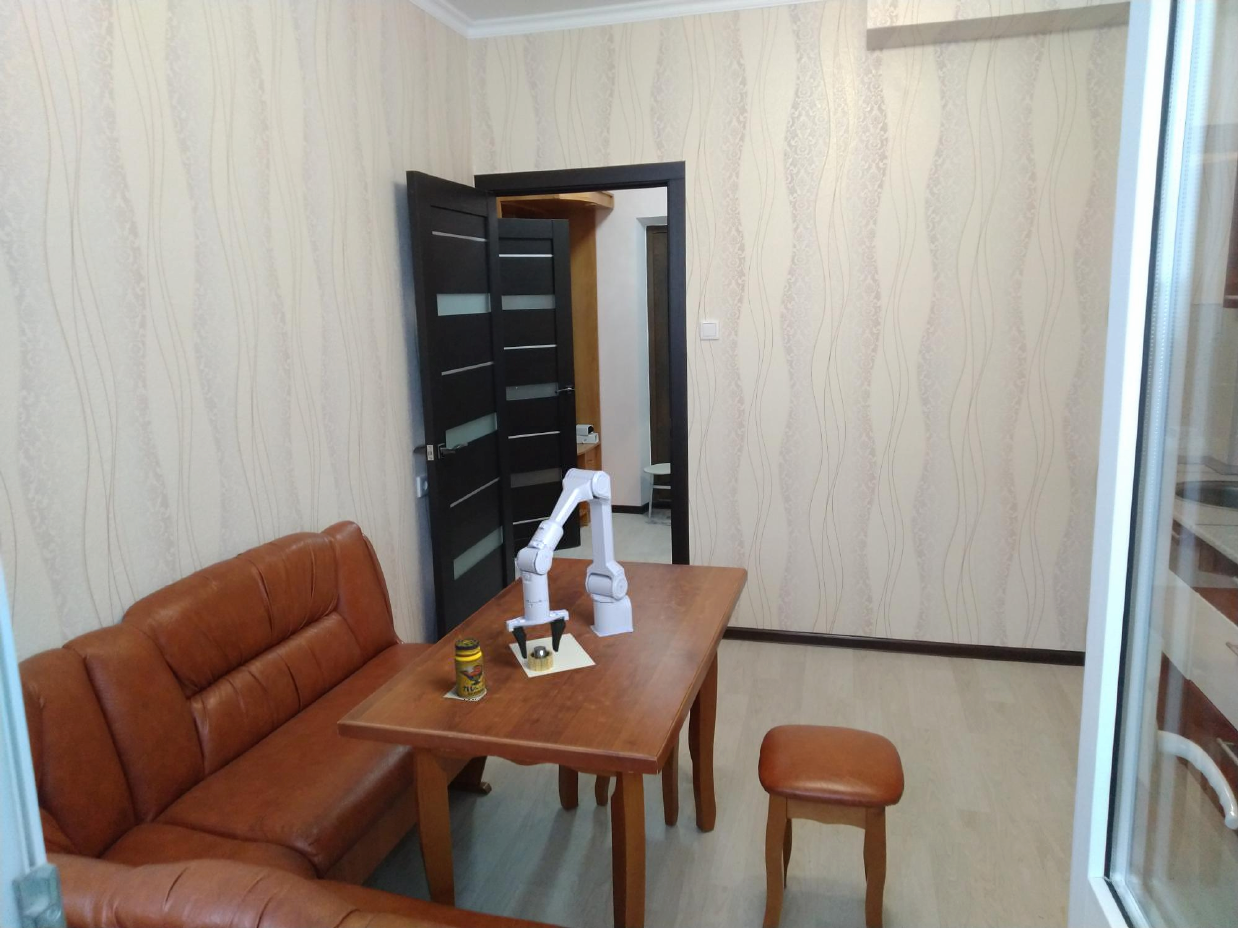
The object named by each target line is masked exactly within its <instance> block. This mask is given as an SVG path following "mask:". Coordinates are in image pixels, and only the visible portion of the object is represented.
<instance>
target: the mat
mask: <svg viewBox="0 0 1238 928" xmlns="http://www.w3.org/2000/svg"><path fill="white" fill-rule="evenodd" d="M508 645H509V647H510V649H511V651H512V652H513V654H514V655H515V657H516V659H517V660H518V662H519V663H520V665H521V667H522V668H523V670H524V671H525V673H526V675H527V677H528V678H532V677H538V676H544V675H547V674H549V675H550V674H553V673H557V672H559V673H560V672H563V671H568V670H575V669H579V668H586V667H589V666H594V665H596V663H595V662H594V661H593V659H592V658H591V657H590V655H589V654H588V653H587V652H586V651H585V650H584V649H583V647H582V645H580V644H579V642H578V641H577V640H576V639H575V637H574V636H573V635H572V634H571V633H565V634H564V633H563V634H562V637H561V640H560V644H559V650H558V652H555V651H554V650H553V647H552V636H548V637H544V638H543V637H542V638H538V639H537V638H536V639H532V640H526V649H527V659H524V658H523V657H522V655H521V651H520V648H519V645H518V643H517V642H515V643H510V644H508ZM537 646H545V647H546V650H550V651H551V652H552V653H553V667H552V668H551V669H549V670H546V671H532V670H530V669H529V665H528V654H529V653H530V652H532V651H534V648H535V647H537Z"/></svg>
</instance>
